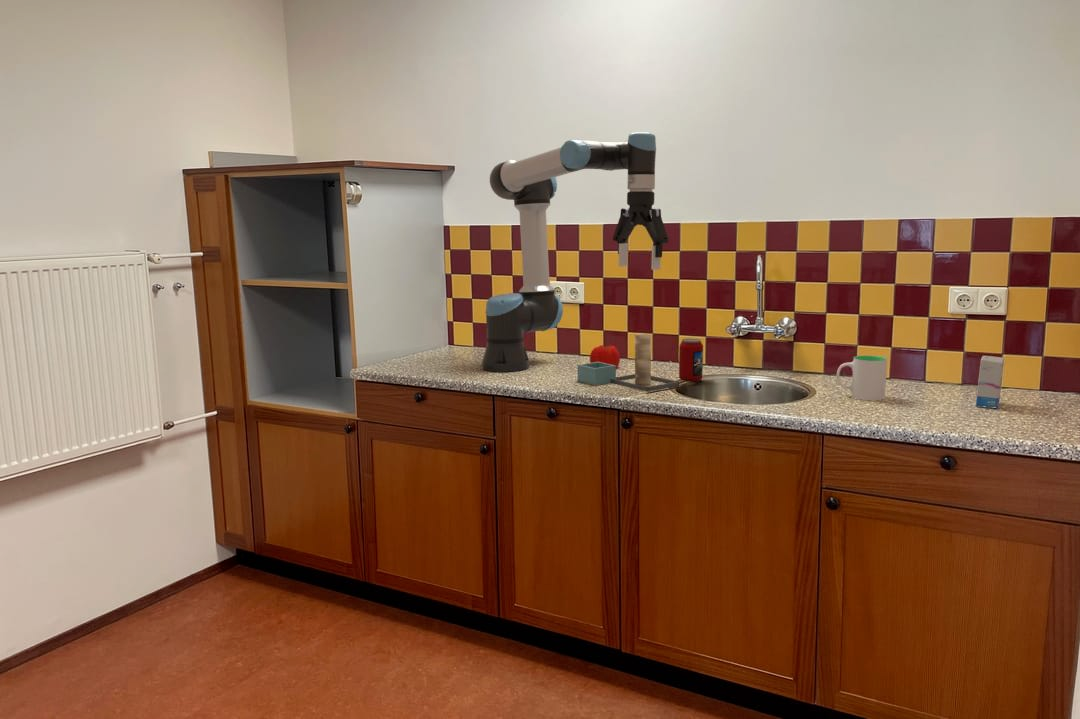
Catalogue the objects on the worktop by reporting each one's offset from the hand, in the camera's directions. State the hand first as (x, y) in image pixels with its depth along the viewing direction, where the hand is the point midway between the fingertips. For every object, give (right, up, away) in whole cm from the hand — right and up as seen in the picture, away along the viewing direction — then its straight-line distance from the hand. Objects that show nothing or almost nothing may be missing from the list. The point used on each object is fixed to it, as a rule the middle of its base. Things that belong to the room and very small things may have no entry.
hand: (639, 268), depth 226 cm
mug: (+56, -36, -15) cm, 68 cm away
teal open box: (-12, -33, +5) cm, 35 cm away
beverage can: (+16, -32, +8) cm, 37 cm away
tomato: (-8, -29, +27) cm, 40 cm away
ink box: (+84, -37, -26) cm, 95 cm away
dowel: (+1, -33, +1) cm, 33 cm away
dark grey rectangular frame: (+1, -33, +1) cm, 33 cm away
